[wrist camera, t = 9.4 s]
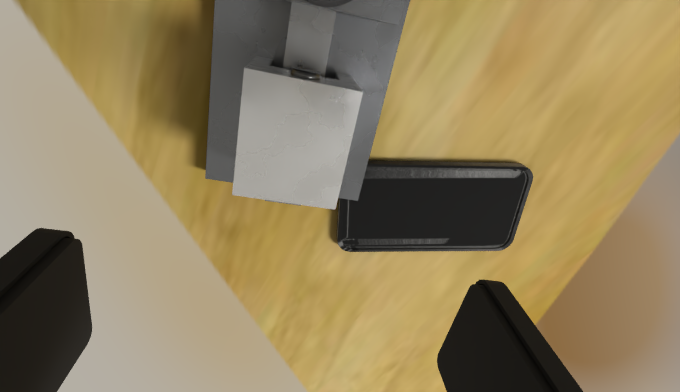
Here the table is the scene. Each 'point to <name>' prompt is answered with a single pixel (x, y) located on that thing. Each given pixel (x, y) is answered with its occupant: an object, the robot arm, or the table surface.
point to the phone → (434, 207)
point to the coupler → (302, 65)
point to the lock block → (294, 134)
